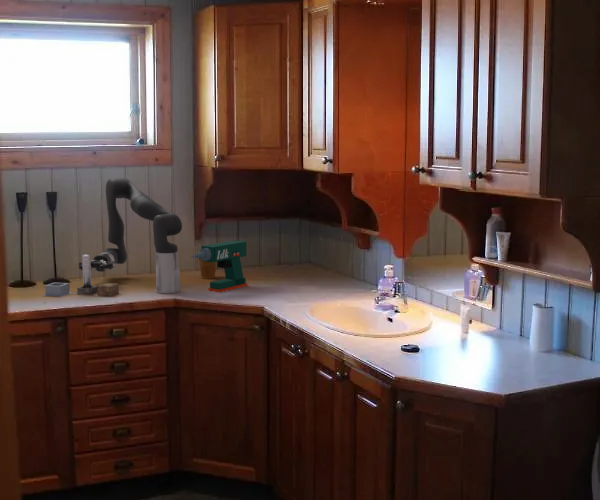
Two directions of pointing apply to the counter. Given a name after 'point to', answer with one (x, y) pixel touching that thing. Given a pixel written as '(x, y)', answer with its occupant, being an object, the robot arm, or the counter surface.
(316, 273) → the counter surface
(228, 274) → the power tool
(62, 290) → the gray square socket
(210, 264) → the disposable coffee cup
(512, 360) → the counter surface
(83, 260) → the pale grey rod
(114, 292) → the socket block
